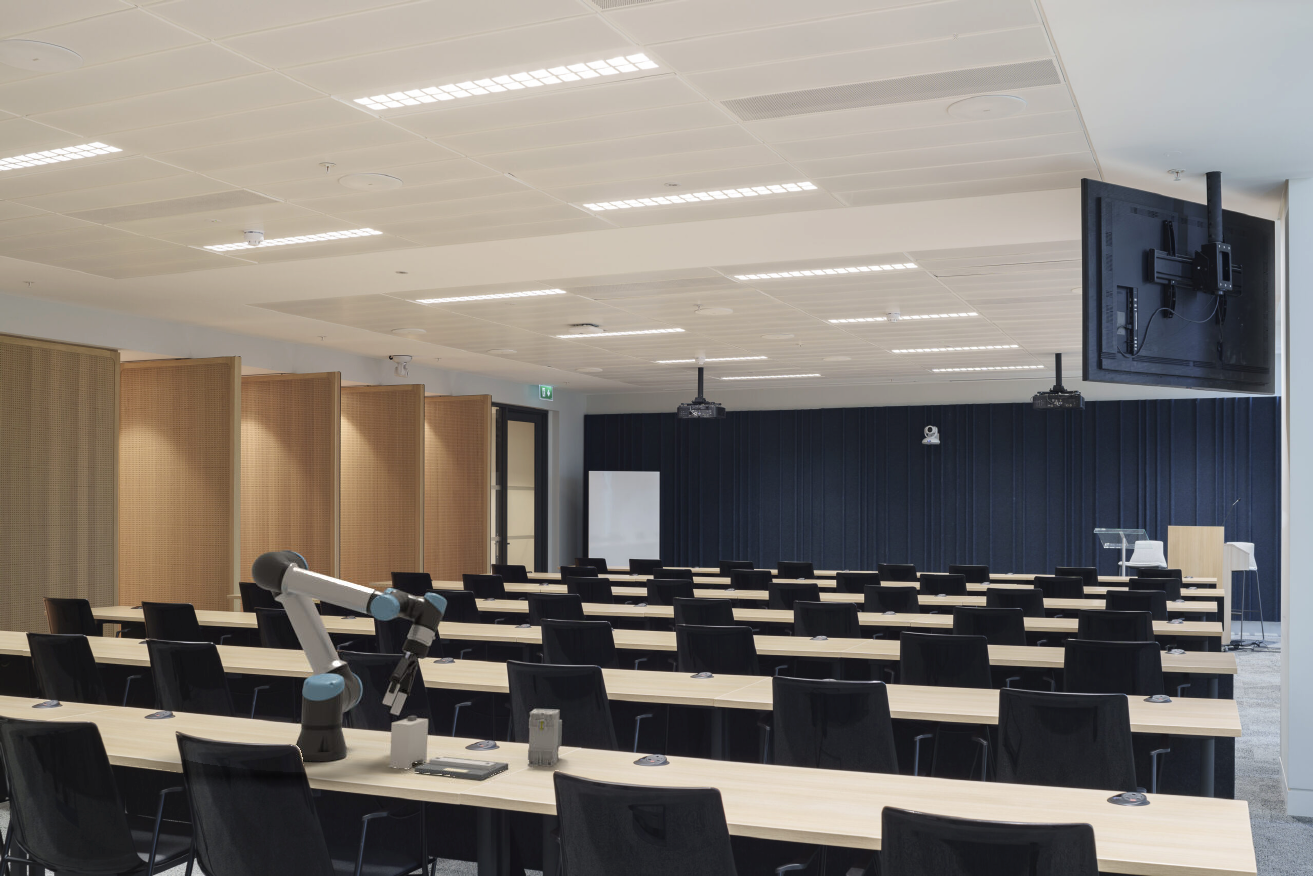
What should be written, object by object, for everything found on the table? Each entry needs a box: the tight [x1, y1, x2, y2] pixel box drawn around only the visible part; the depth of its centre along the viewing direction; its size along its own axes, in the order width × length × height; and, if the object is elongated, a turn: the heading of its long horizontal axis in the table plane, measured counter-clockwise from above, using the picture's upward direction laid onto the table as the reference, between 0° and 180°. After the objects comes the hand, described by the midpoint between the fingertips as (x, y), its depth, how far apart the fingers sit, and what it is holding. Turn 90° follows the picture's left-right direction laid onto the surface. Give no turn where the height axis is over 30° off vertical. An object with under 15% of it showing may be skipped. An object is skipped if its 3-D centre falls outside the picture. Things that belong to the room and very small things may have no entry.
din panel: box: [414, 756, 509, 781], centre depth 310 cm, size 21×16×3 cm
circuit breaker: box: [527, 708, 563, 767], centre depth 327 cm, size 8×14×15 cm, turn 174°
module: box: [389, 715, 429, 770], centre depth 317 cm, size 6×10×14 cm, turn 161°
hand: (390, 709), depth 326 cm, fingers open, 13 cm apart
